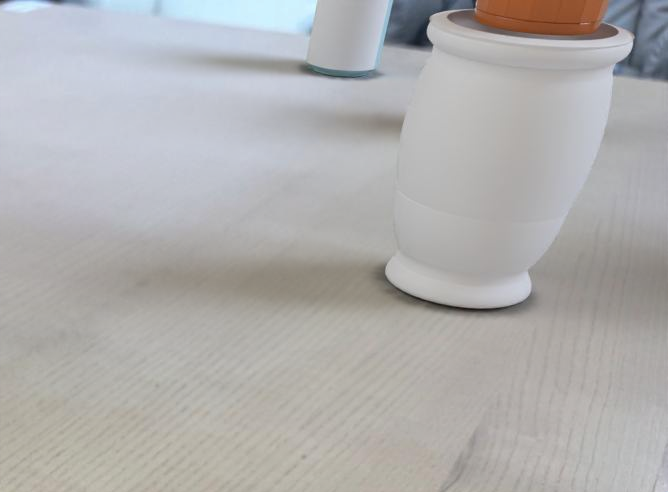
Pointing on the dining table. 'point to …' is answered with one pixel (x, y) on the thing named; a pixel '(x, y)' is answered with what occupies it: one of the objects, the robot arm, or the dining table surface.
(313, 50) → the can
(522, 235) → the jar
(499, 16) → the cup
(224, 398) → the dining table surface
